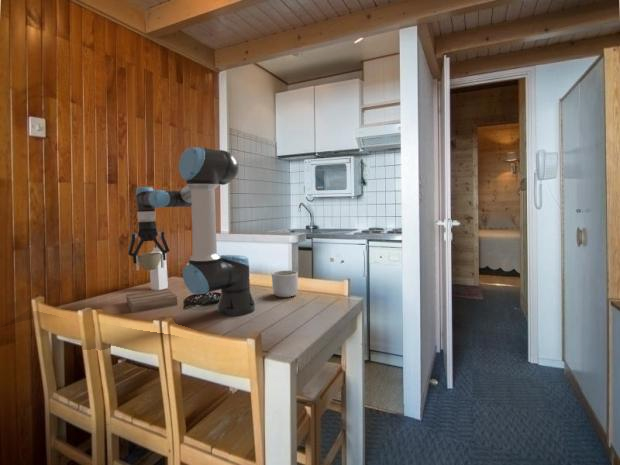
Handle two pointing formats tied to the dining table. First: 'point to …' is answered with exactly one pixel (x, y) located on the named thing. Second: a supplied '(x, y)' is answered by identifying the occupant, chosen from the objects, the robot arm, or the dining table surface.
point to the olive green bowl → (149, 260)
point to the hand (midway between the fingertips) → (150, 268)
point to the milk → (159, 274)
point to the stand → (151, 300)
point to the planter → (285, 283)
